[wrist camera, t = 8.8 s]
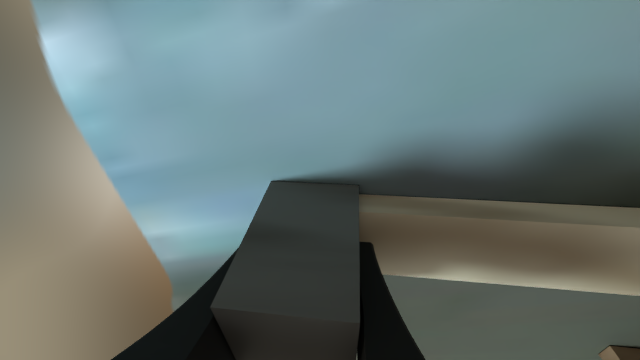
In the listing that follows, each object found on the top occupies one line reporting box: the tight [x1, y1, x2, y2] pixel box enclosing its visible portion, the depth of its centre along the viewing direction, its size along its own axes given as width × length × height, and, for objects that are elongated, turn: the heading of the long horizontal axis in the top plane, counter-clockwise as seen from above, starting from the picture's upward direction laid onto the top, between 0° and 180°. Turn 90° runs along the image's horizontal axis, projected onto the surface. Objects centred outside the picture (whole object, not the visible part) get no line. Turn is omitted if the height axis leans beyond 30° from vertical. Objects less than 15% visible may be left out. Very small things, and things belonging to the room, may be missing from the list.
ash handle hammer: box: [210, 181, 640, 360], centre depth 10 cm, size 5×17×6 cm, turn 92°
